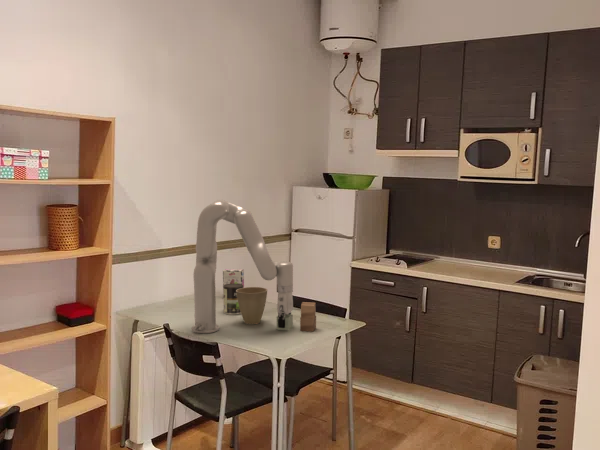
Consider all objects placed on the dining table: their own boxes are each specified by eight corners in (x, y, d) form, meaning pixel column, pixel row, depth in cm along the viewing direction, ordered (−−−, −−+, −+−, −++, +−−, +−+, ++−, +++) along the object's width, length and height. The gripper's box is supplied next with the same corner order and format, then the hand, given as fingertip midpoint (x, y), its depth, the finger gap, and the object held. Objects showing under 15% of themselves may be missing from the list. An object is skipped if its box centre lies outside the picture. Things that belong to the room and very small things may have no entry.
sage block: (289, 330, 271) (289, 317, 271) (276, 329, 273) (276, 316, 272) (292, 327, 277) (292, 314, 277) (280, 326, 279) (280, 313, 278)
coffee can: (247, 311, 305) (247, 284, 304) (233, 315, 297) (233, 288, 296) (233, 308, 312) (232, 282, 310) (219, 312, 303) (218, 285, 302)
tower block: (314, 318, 269) (314, 305, 269) (300, 318, 270) (300, 305, 269) (315, 315, 275) (315, 302, 275) (302, 314, 276) (302, 302, 275)
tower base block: (312, 331, 269) (312, 318, 269) (300, 330, 271) (300, 317, 270) (316, 328, 275) (316, 315, 275) (303, 327, 277) (303, 314, 276)
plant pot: (265, 317, 293) (265, 286, 292) (269, 326, 279) (269, 292, 277) (235, 319, 291) (235, 287, 289) (237, 327, 276) (237, 293, 275)
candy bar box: (244, 297, 338) (244, 269, 336) (242, 299, 333) (241, 270, 331) (225, 296, 340) (225, 268, 338) (222, 298, 335) (222, 270, 333)
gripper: (287, 293, 264) (287, 330, 266) (297, 285, 281) (297, 320, 282) (271, 291, 266) (271, 329, 268) (282, 284, 283) (282, 319, 284)
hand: (284, 324), depth 275 cm, fingers open, 9 cm apart
